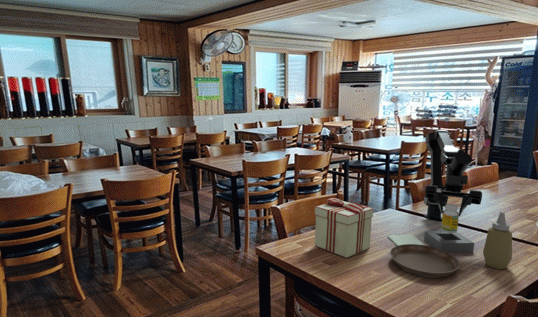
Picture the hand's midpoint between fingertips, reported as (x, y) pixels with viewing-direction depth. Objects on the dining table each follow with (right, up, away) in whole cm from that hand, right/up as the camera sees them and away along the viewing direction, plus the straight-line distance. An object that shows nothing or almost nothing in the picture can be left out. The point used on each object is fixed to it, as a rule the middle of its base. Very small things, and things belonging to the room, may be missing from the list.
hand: (450, 214), depth 131 cm
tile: (-14, -11, +7) cm, 19 cm away
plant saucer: (-16, -15, -13) cm, 25 cm away
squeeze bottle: (+8, -15, -13) cm, 21 cm away
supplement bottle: (+1, -6, +2) cm, 7 cm away
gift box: (-39, -12, +2) cm, 40 cm away
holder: (0, -12, +3) cm, 12 cm away
